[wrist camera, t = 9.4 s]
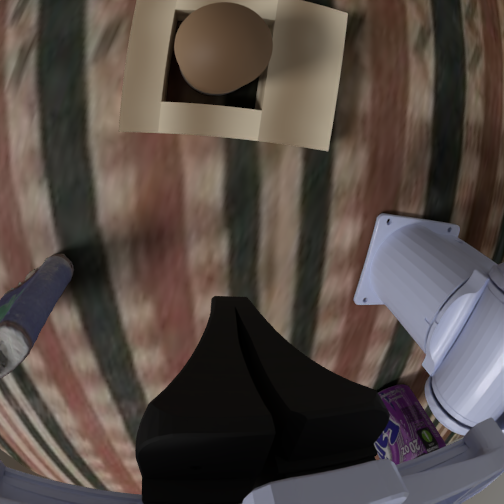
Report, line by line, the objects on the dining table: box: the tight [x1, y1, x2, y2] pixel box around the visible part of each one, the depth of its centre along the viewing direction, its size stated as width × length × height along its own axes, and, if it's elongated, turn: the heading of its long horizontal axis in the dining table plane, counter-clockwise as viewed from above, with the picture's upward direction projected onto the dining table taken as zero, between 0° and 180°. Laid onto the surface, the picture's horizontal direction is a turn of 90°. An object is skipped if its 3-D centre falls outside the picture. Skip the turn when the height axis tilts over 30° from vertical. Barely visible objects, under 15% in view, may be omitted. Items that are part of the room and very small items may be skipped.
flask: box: [0, 254, 74, 378], centre depth 17 cm, size 9×3×11 cm, turn 117°
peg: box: [174, 2, 273, 96], centre depth 14 cm, size 4×4×7 cm
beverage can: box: [374, 385, 446, 465], centre depth 29 cm, size 7×7×12 cm
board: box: [119, 0, 348, 151], centre depth 16 cm, size 12×9×2 cm
